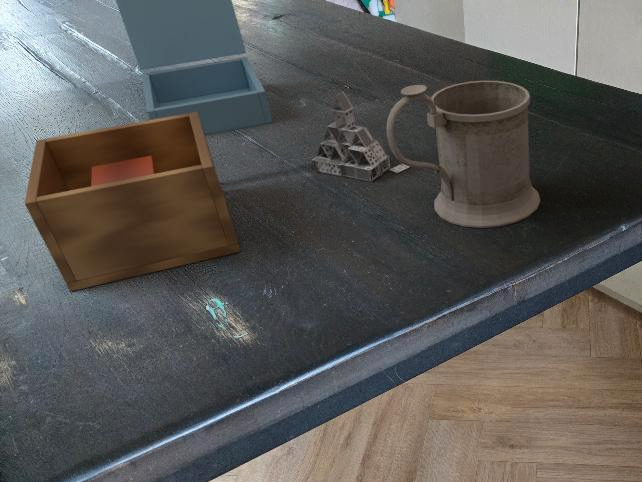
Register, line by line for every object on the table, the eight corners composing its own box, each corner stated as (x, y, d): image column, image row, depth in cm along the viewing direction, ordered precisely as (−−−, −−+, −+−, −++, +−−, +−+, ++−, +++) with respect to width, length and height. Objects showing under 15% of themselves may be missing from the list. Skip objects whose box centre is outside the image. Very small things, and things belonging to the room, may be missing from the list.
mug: (493, 170, 73) (485, 43, 65) (561, 201, 67) (561, 66, 59) (372, 219, 66) (347, 84, 58) (437, 259, 60) (419, 115, 52)
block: (114, 242, 63) (90, 189, 60) (114, 218, 67) (91, 166, 63) (174, 229, 65) (154, 176, 61) (171, 206, 68) (151, 155, 65)
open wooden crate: (70, 292, 59) (24, 203, 54) (74, 220, 68) (35, 140, 63) (240, 252, 63) (212, 165, 58) (222, 190, 72) (197, 111, 67)
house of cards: (430, 151, 77) (421, 77, 72) (384, 186, 71) (371, 107, 66) (361, 140, 80) (348, 68, 75) (312, 171, 75) (294, 96, 70)
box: (274, 128, 84) (265, 91, 81) (160, 150, 81) (146, 111, 78) (256, 91, 94) (246, 56, 92) (154, 109, 91) (141, 73, 88)
